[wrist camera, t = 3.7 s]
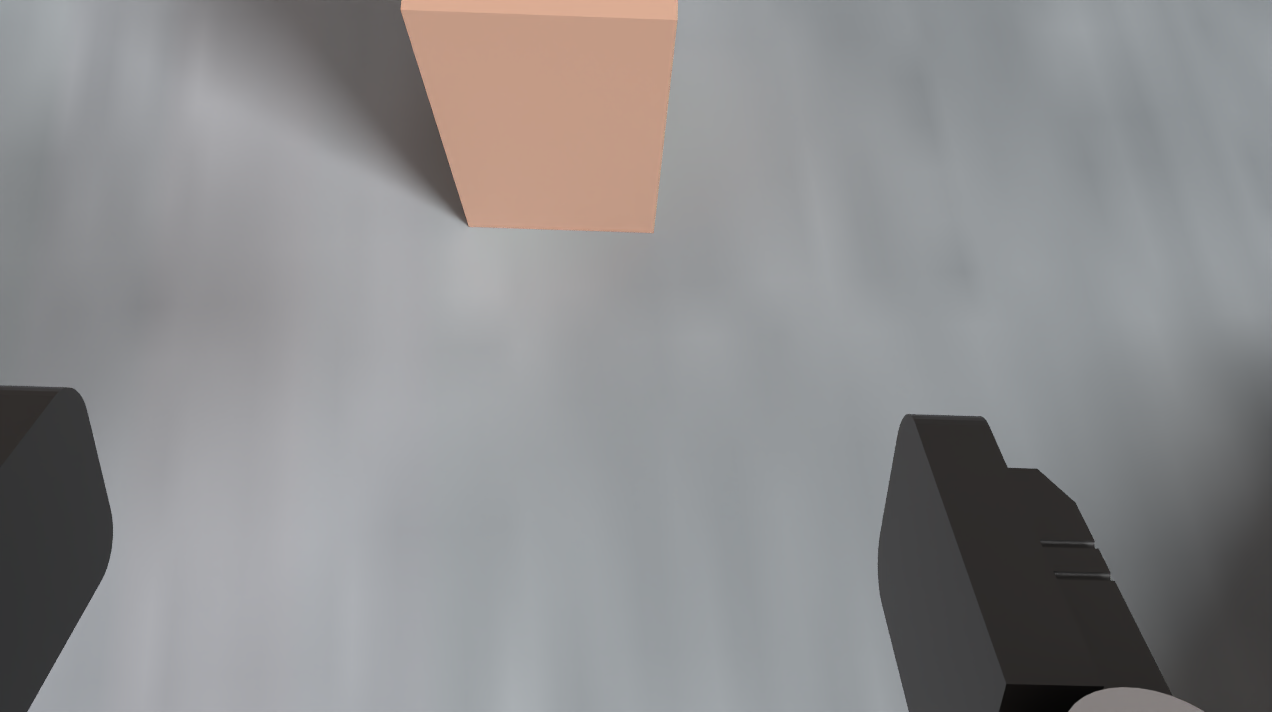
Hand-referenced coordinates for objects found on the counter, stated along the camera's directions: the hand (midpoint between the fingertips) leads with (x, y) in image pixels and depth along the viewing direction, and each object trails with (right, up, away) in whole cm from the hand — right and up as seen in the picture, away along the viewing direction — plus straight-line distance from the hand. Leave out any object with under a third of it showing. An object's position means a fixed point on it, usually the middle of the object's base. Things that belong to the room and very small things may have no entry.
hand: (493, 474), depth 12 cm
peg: (0, +6, +15) cm, 16 cm away
